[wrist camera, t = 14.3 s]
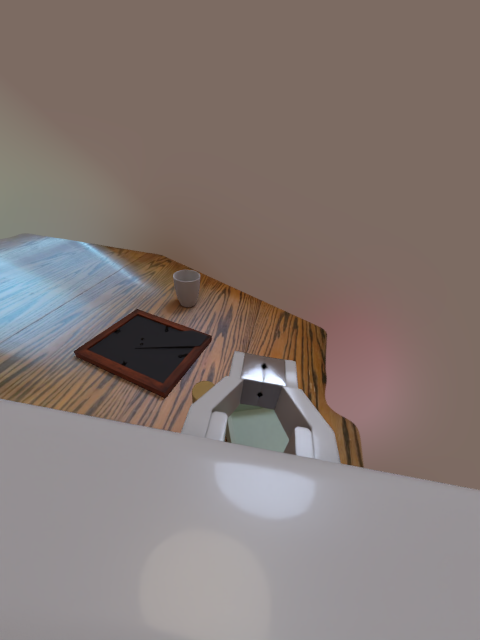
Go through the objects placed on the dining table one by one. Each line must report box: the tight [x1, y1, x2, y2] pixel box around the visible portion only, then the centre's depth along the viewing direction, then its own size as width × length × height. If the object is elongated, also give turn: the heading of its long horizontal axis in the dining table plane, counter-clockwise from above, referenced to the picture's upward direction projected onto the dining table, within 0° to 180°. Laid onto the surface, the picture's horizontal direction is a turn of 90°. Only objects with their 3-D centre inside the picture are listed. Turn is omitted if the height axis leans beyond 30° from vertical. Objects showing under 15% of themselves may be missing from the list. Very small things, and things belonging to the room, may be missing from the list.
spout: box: [192, 381, 215, 403], centre depth 32 cm, size 14×3×4 cm, turn 110°
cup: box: [173, 270, 200, 307], centre depth 73 cm, size 8×8×10 cm
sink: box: [226, 404, 289, 453], centre depth 41 cm, size 14×14×5 cm
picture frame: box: [74, 309, 212, 398], centre depth 57 cm, size 20×2×25 cm
